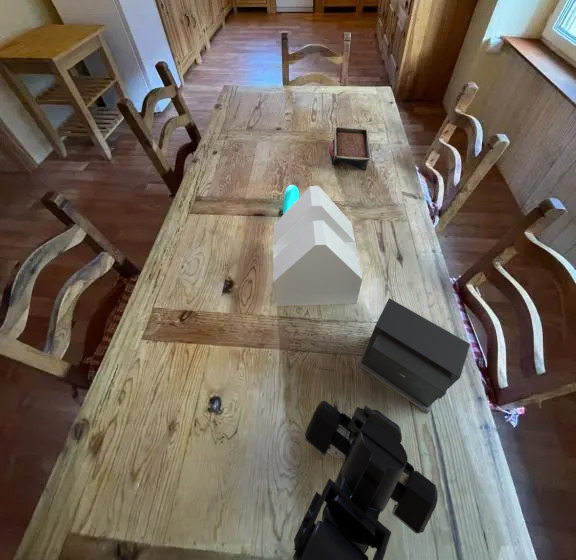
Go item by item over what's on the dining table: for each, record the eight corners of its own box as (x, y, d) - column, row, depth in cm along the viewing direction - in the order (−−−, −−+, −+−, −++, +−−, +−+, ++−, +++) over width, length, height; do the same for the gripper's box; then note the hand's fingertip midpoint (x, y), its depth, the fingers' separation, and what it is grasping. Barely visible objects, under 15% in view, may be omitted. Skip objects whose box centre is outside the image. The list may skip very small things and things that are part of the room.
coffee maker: (423, 426, 64) (457, 399, 50) (351, 376, 70) (364, 339, 56) (439, 379, 70) (474, 343, 56) (371, 336, 76) (387, 294, 62)
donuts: (289, 200, 106) (288, 177, 99) (321, 204, 104) (323, 181, 97) (282, 225, 99) (281, 202, 92) (316, 230, 97) (318, 207, 90)
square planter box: (369, 150, 125) (371, 125, 119) (370, 177, 111) (372, 151, 105) (330, 148, 128) (330, 124, 122) (326, 176, 113) (326, 150, 108)
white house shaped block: (275, 306, 81) (269, 246, 64) (276, 251, 92) (270, 187, 75) (356, 303, 81) (371, 243, 64) (346, 249, 92) (357, 184, 75)
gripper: (456, 502, 39) (453, 426, 53) (317, 395, 47) (346, 354, 61) (416, 583, 40) (423, 487, 54) (285, 464, 48) (321, 408, 62)
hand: (376, 429), depth 58 cm, fingers closed on cork, 5 cm apart
